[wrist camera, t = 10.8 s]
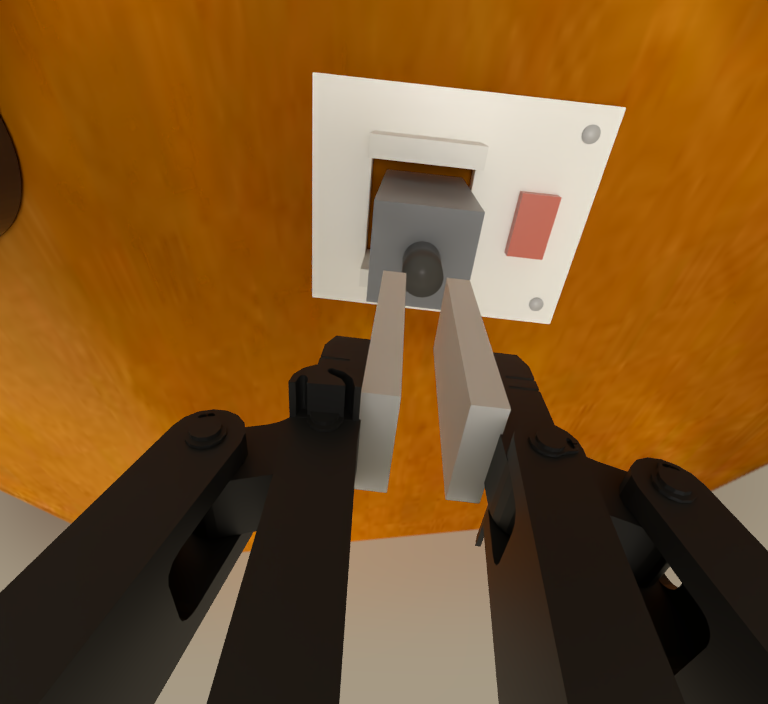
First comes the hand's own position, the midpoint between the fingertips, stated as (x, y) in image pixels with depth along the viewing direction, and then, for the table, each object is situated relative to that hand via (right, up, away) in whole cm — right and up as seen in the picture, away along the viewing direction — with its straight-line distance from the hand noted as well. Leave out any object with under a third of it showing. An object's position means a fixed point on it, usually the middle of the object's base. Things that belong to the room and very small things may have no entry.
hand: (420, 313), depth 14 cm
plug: (+1, +8, +14) cm, 16 cm away
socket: (+3, +8, +14) cm, 17 cm away
